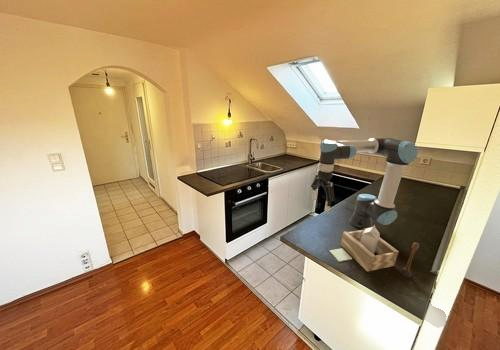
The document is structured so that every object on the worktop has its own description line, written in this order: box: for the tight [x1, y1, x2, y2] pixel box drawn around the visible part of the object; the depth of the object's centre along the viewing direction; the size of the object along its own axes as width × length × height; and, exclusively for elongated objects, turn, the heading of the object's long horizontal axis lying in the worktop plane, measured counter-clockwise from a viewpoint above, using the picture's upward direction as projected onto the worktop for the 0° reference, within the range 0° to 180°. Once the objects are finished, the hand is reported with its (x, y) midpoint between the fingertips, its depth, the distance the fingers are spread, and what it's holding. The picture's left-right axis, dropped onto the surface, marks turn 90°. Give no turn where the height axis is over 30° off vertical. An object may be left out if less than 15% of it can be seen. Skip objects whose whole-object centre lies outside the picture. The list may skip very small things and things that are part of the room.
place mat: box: [328, 247, 353, 263], centre depth 121 cm, size 9×9×1 cm
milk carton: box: [360, 224, 381, 255], centre depth 119 cm, size 7×7×19 cm
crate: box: [340, 228, 400, 272], centre depth 120 cm, size 18×22×10 cm
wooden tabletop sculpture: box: [399, 242, 420, 279], centre depth 106 cm, size 6×5×20 cm
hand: (320, 204), depth 120 cm, fingers open, 13 cm apart
